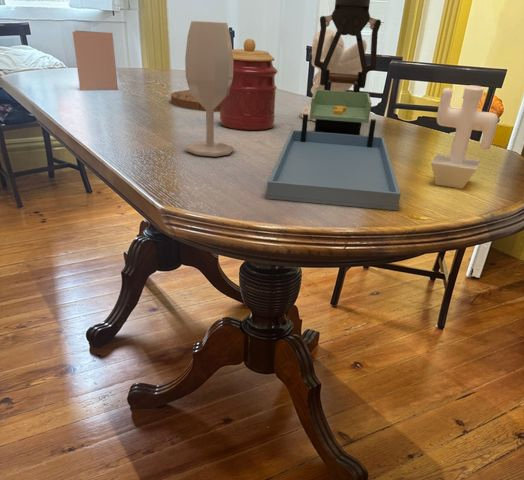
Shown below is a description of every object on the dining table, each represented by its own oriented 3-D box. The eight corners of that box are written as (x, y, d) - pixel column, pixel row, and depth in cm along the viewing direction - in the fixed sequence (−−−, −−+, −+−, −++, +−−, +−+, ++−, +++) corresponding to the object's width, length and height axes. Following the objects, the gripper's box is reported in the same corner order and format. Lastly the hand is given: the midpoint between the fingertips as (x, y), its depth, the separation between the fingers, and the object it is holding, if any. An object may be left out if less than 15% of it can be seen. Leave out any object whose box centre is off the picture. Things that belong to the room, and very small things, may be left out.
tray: (290, 142, 109) (291, 129, 107) (381, 149, 107) (383, 137, 106) (266, 198, 76) (267, 181, 75) (397, 210, 74) (400, 193, 73)
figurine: (477, 193, 84) (506, 92, 75) (419, 184, 87) (441, 85, 78) (480, 182, 89) (507, 87, 81) (425, 174, 92) (446, 81, 84)
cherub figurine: (328, 112, 143) (337, 28, 131) (359, 121, 134) (372, 31, 123) (290, 115, 136) (297, 26, 125) (320, 124, 128) (330, 29, 117)
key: (333, 108, 113) (333, 105, 112) (346, 109, 112) (346, 106, 112) (332, 113, 107) (333, 110, 106) (346, 114, 107) (346, 111, 106)
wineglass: (216, 160, 93) (216, 23, 82) (177, 152, 97) (172, 20, 85) (241, 151, 100) (244, 24, 88) (204, 144, 103) (202, 20, 91)
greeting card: (118, 89, 160) (113, 32, 151) (110, 92, 154) (104, 33, 145) (83, 86, 160) (75, 30, 152) (73, 89, 154) (65, 31, 146)
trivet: (228, 115, 132) (228, 106, 131) (152, 102, 142) (152, 95, 141) (274, 104, 150) (275, 97, 149) (205, 94, 160) (204, 87, 159)
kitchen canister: (230, 131, 115) (231, 39, 105) (212, 120, 124) (212, 35, 115) (282, 130, 119) (289, 42, 109) (262, 119, 129) (265, 37, 119)
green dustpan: (315, 101, 125) (318, 71, 122) (364, 105, 124) (369, 75, 120) (309, 118, 105) (313, 83, 102) (368, 123, 104) (373, 87, 101)
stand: (304, 131, 119) (307, 104, 116) (368, 136, 118) (373, 109, 115) (300, 144, 108) (303, 114, 105) (371, 150, 106) (376, 120, 103)
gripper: (399, -12, 113) (380, 102, 126) (310, -17, 115) (300, 96, 127) (402, -13, 107) (382, 107, 120) (307, -19, 108) (298, 101, 121)
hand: (340, 101), depth 124 cm, fingers closed on green dustpan, 7 cm apart
